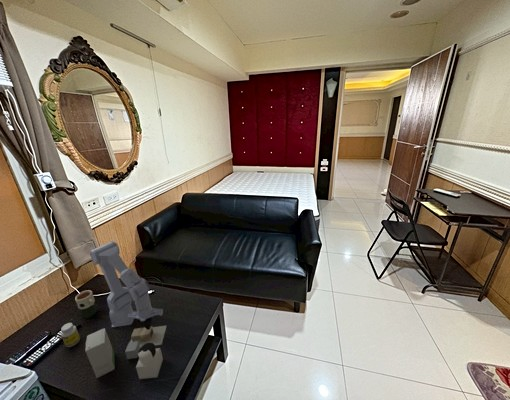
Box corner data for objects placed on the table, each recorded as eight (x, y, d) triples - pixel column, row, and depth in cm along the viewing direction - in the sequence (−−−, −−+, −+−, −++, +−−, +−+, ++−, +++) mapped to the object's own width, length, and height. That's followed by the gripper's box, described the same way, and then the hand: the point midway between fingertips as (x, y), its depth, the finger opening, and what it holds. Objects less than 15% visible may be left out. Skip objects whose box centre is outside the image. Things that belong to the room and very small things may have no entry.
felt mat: (126, 350, 95) (126, 349, 95) (135, 330, 105) (135, 329, 104) (161, 344, 97) (161, 344, 97) (166, 325, 107) (166, 325, 106)
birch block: (151, 340, 99) (132, 342, 98) (153, 332, 103) (136, 334, 102) (149, 333, 98) (131, 336, 97) (152, 326, 102) (134, 328, 101)
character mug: (76, 316, 113) (69, 297, 109) (90, 306, 119) (83, 287, 115) (90, 322, 109) (83, 302, 105) (103, 311, 116) (97, 292, 111)
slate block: (127, 359, 91) (125, 351, 90) (131, 350, 95) (128, 342, 93) (137, 358, 92) (134, 350, 90) (140, 349, 96) (138, 341, 94)
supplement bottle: (64, 349, 96) (57, 333, 93) (67, 339, 101) (60, 324, 97) (78, 344, 98) (72, 328, 95) (81, 334, 103) (75, 319, 100)
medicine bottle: (146, 360, 91) (140, 340, 87) (163, 359, 91) (158, 339, 87) (139, 379, 84) (132, 358, 80) (157, 377, 85) (152, 356, 81)
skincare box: (114, 369, 88) (105, 342, 82) (95, 379, 84) (84, 352, 79) (114, 352, 94) (105, 326, 89) (96, 361, 91) (86, 335, 86)
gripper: (122, 315, 90) (129, 338, 94) (157, 310, 92) (162, 333, 96) (128, 302, 96) (135, 324, 101) (162, 298, 98) (166, 319, 103)
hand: (149, 327), depth 99 cm, fingers closed
